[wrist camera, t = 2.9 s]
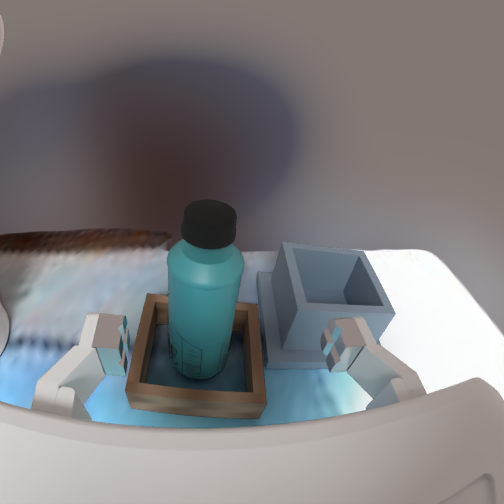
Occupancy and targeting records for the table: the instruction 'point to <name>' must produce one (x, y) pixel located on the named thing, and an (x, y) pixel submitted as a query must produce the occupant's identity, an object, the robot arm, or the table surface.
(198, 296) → the beverage bottle
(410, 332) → the table surface
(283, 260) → the bottle holder
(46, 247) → the table surface
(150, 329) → the walnut sleeve
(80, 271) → the table surface
